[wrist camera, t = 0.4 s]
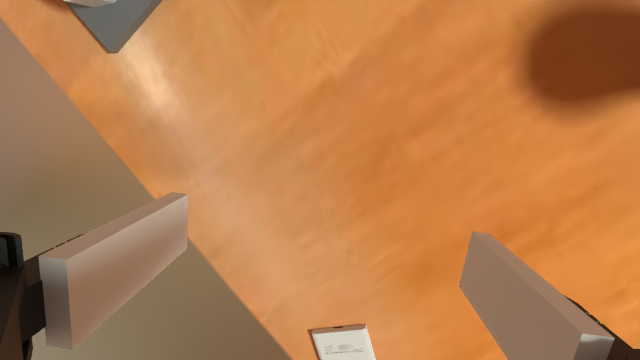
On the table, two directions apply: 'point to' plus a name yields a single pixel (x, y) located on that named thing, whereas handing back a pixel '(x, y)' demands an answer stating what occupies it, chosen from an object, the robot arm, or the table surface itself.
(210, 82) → the table surface
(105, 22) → the cup holder
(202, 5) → the table surface
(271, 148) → the table surface
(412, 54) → the table surface
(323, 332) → the external hard drive
